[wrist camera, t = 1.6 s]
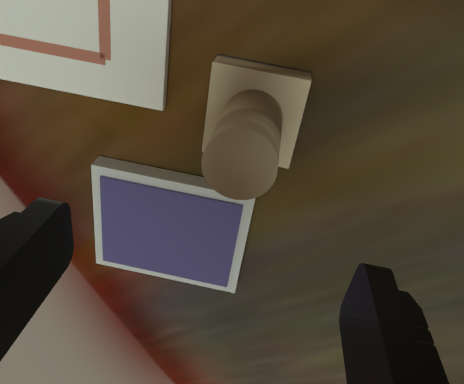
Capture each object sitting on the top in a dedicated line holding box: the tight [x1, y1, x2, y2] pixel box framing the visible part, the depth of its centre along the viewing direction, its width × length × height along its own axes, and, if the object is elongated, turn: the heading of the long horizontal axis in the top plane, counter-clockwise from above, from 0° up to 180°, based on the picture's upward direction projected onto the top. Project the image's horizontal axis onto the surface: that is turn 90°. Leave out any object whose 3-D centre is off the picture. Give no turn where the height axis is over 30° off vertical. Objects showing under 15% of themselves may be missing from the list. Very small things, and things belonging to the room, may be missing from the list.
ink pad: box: [91, 156, 255, 293], centre depth 26 cm, size 10×8×1 cm
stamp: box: [201, 54, 312, 200], centre depth 18 cm, size 5×5×7 cm
